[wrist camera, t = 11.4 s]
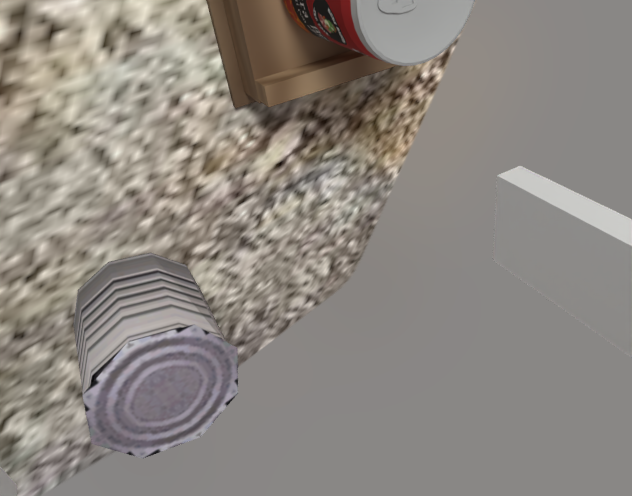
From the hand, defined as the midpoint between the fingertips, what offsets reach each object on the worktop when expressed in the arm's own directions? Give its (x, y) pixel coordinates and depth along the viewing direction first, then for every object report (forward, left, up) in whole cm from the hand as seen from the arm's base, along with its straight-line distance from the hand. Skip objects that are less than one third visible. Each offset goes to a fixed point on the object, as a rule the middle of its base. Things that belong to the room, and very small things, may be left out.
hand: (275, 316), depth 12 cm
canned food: (+16, +2, -28) cm, 32 cm away
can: (-5, -21, -32) cm, 39 cm away
